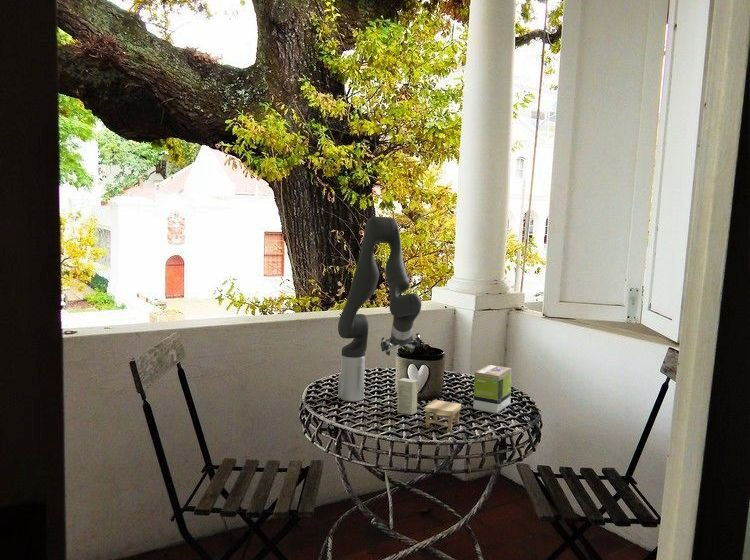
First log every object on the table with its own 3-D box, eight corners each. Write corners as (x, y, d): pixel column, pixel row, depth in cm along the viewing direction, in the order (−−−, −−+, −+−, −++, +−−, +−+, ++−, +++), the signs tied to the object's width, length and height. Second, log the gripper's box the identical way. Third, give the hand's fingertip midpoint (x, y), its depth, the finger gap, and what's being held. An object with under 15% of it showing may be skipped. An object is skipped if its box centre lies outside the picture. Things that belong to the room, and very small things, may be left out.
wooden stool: (423, 426, 221) (424, 406, 220) (433, 418, 230) (434, 399, 229) (451, 431, 217) (452, 411, 216) (460, 423, 226) (461, 404, 225)
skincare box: (417, 412, 236) (418, 380, 235) (411, 415, 232) (413, 382, 231) (401, 409, 239) (403, 377, 238) (396, 412, 236) (397, 379, 234)
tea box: (486, 400, 256) (488, 363, 255) (510, 404, 251) (513, 367, 250) (472, 409, 244) (474, 370, 242) (497, 414, 238) (499, 375, 237)
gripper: (419, 318, 228) (416, 340, 241) (380, 323, 226) (379, 345, 240) (424, 336, 224) (420, 358, 237) (383, 341, 222) (382, 363, 236)
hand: (399, 352), depth 239 cm, fingers open, 8 cm apart
